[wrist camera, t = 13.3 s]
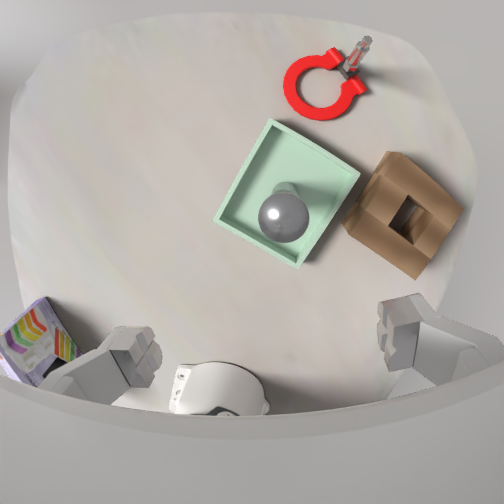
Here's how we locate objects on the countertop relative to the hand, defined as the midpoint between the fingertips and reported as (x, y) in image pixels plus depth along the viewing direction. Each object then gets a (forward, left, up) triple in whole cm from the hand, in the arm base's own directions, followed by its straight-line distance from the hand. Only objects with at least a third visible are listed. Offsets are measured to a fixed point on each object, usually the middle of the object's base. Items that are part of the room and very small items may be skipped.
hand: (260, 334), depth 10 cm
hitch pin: (0, 0, -27) cm, 27 cm away
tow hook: (+14, +3, -28) cm, 31 cm away
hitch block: (+7, -14, -28) cm, 31 cm away
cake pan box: (-47, +25, -28) cm, 60 cm away
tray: (+1, 0, -28) cm, 28 cm away
